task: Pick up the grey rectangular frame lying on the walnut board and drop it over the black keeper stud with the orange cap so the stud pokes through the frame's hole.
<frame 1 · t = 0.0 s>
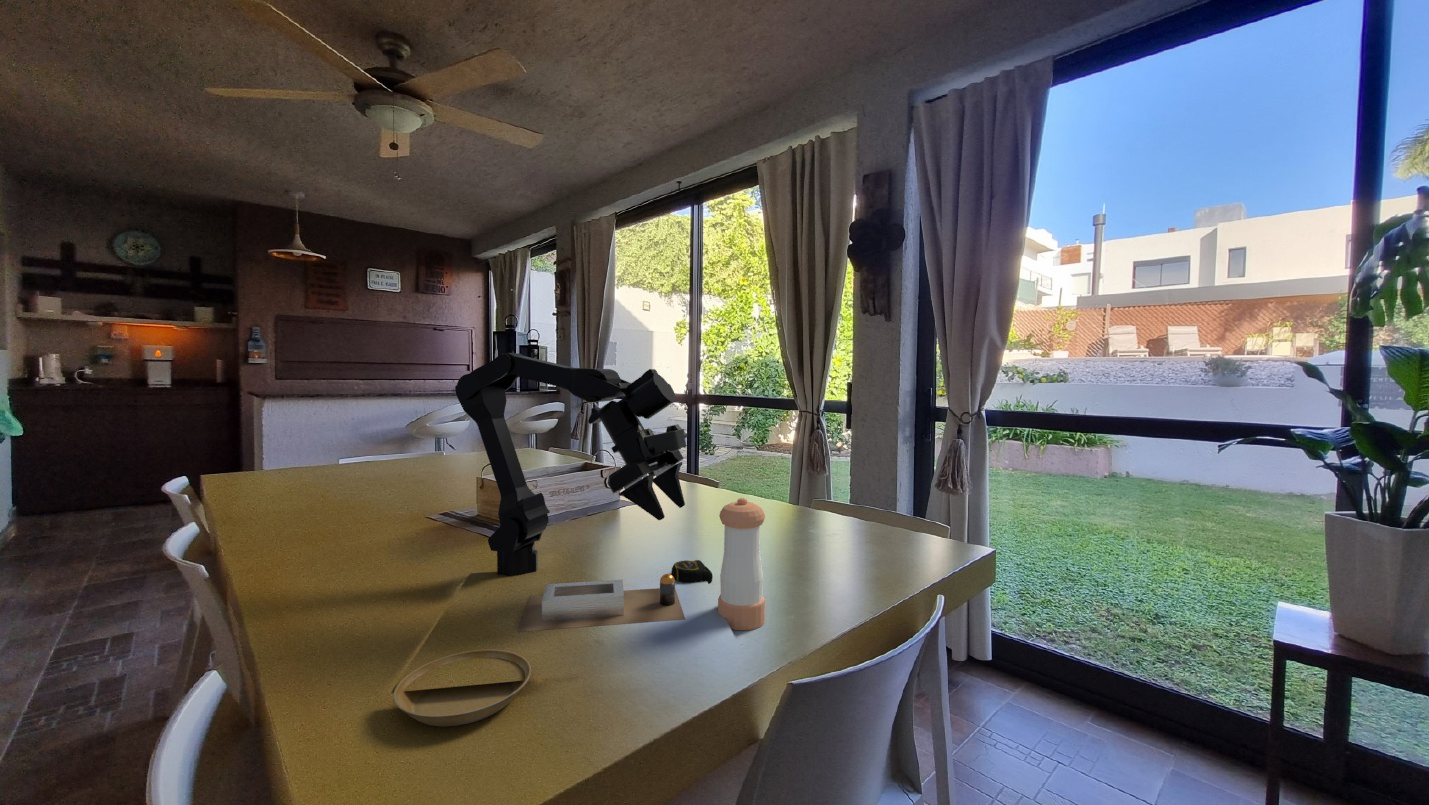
hand: (672, 512, 96), 15 cm above the table, fingers open, 9 cm apart
plant saucer: (465, 701, 67), on the table
tape measure: (693, 585, 105), on the table
keeper stud: (667, 602, 92), resting on keeper board
grey rectangular frame: (584, 608, 89), point 1 cm above the table, touching keeper board
pepper shaker: (741, 621, 89), on the table
keeper board: (603, 616, 90), on the table
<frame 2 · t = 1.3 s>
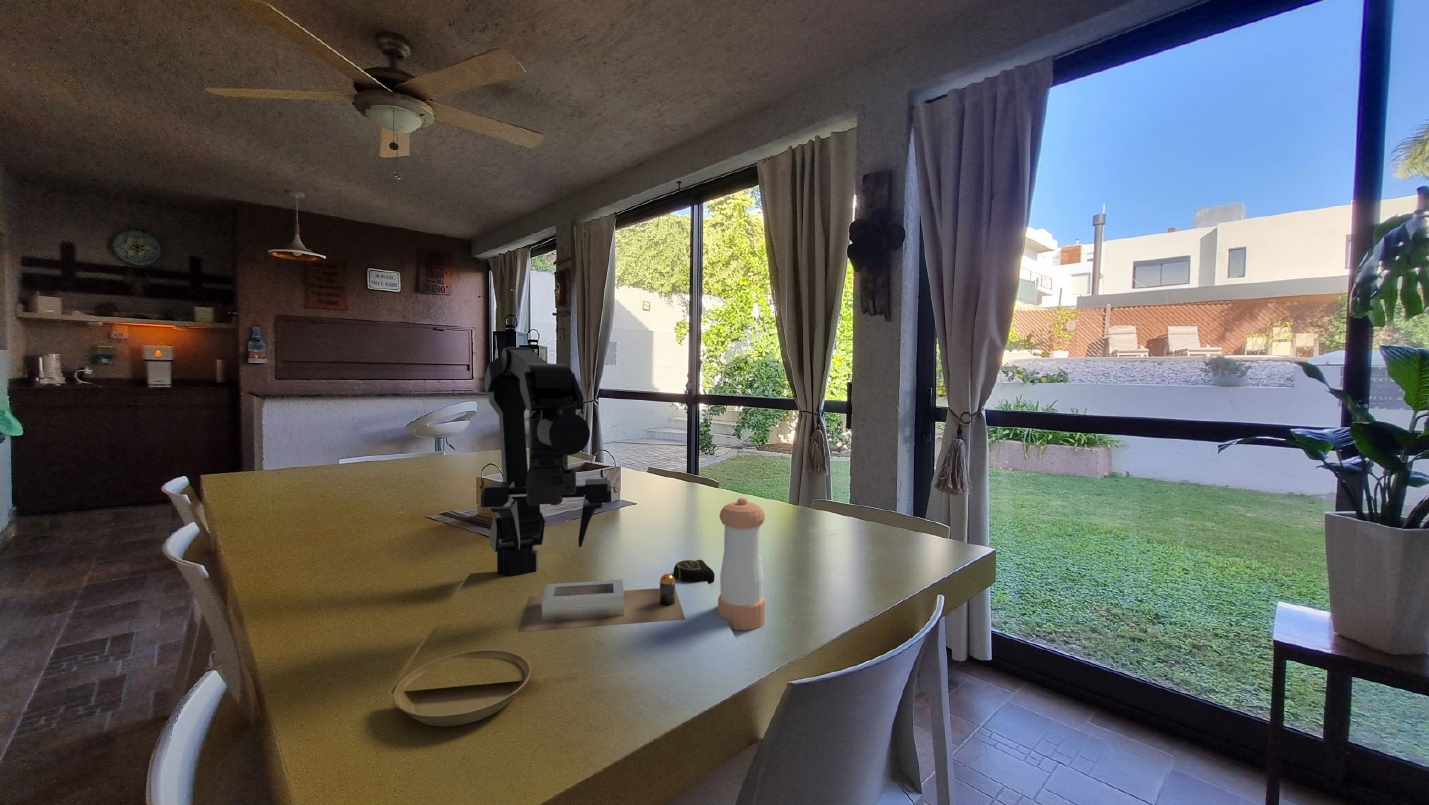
hand: (549, 547, 88), 11 cm above the table, fingers open, 9 cm apart
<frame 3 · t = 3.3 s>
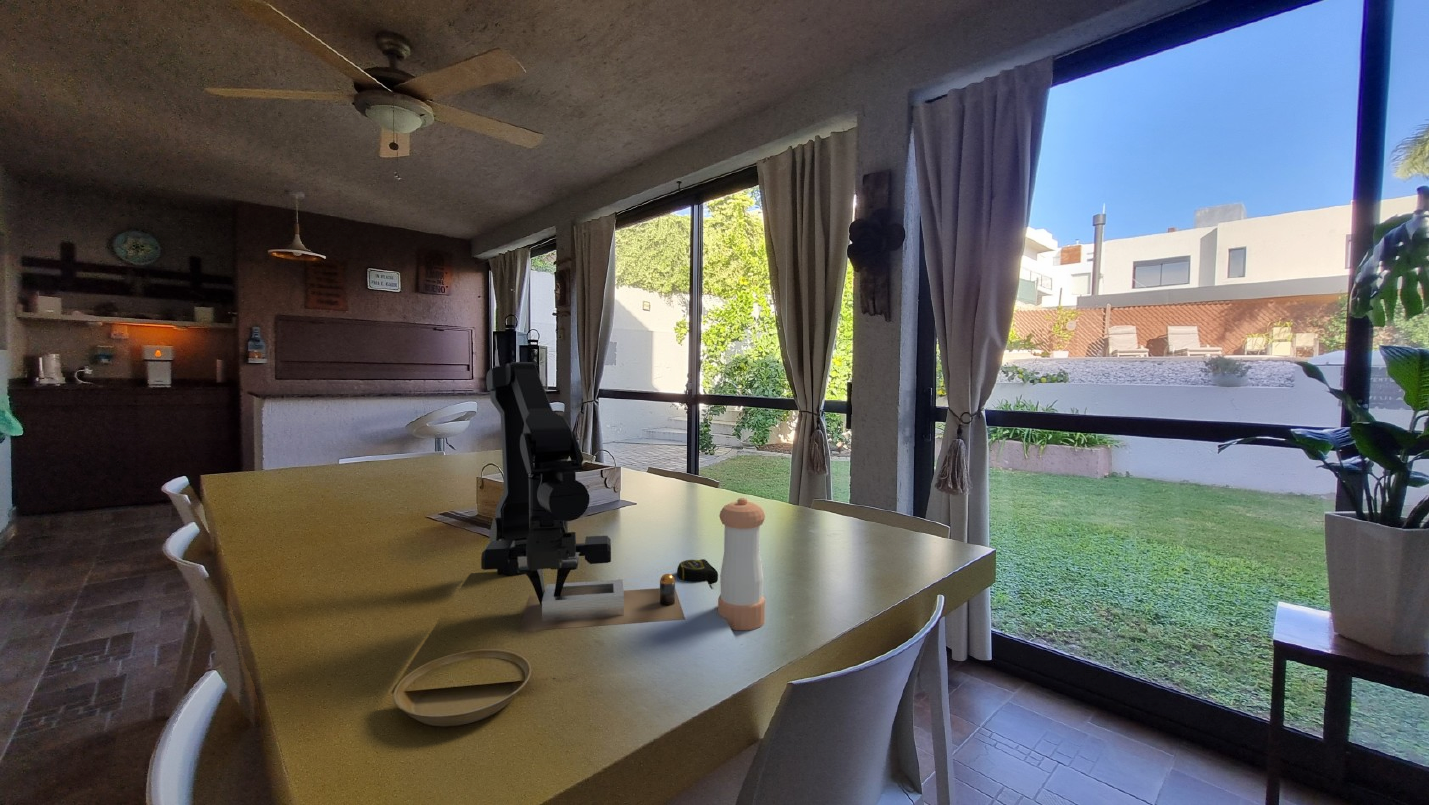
hand: (549, 606, 88), 2 cm above the table, fingers closed on grey rectangular frame
grey rectangular frame: (584, 608, 89), point 1 cm above the table, touching gripper, keeper board
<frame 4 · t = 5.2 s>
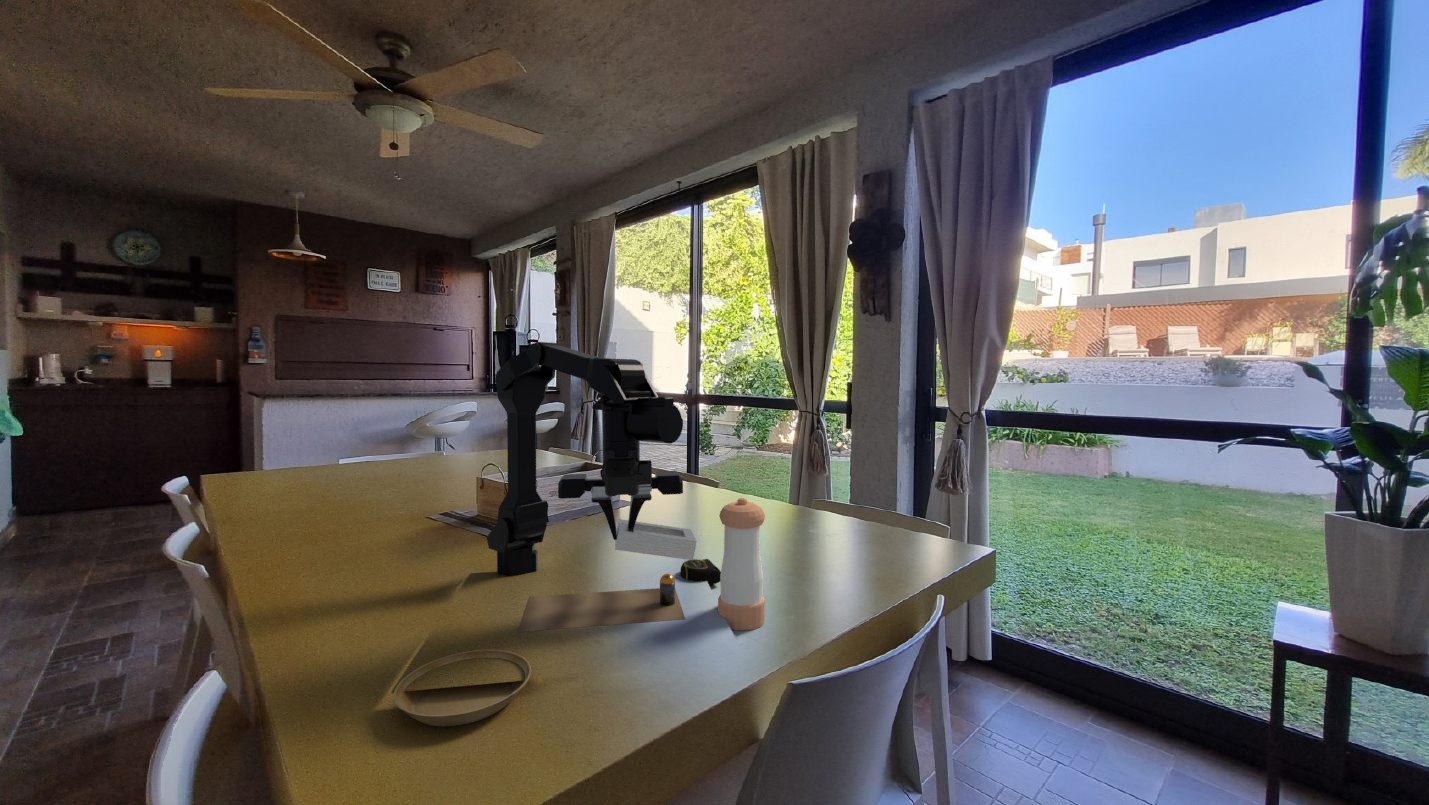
hand: (622, 538, 89), 12 cm above the table, fingers closed on grey rectangular frame
grey rectangular frame: (653, 548, 90), point 11 cm above the table, tilted 11°, touching gripper
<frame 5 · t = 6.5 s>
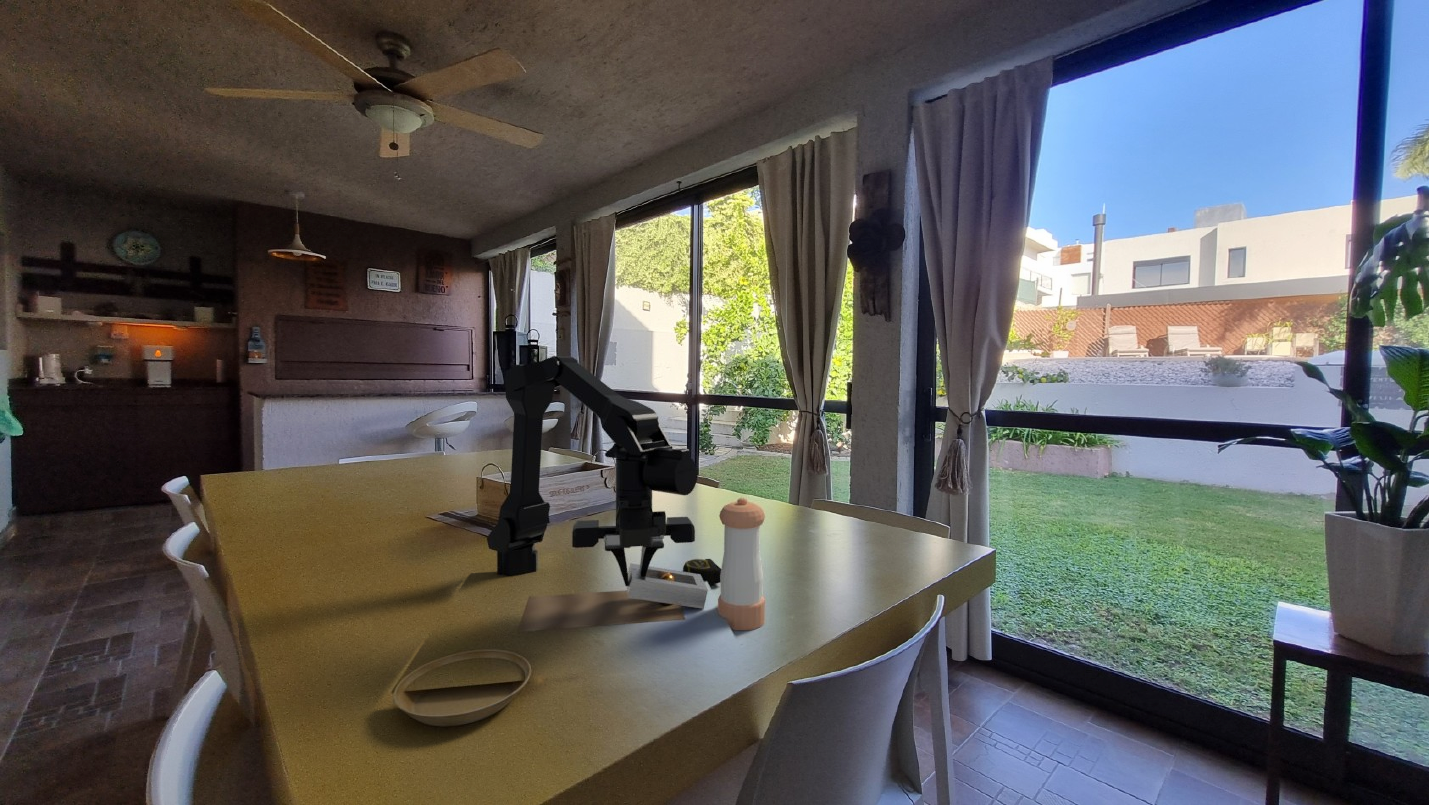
hand: (633, 585, 91), 5 cm above the table, fingers closed on grey rectangular frame
grey rectangular frame: (663, 594, 92), point 3 cm above the table, tilted 12°, touching gripper
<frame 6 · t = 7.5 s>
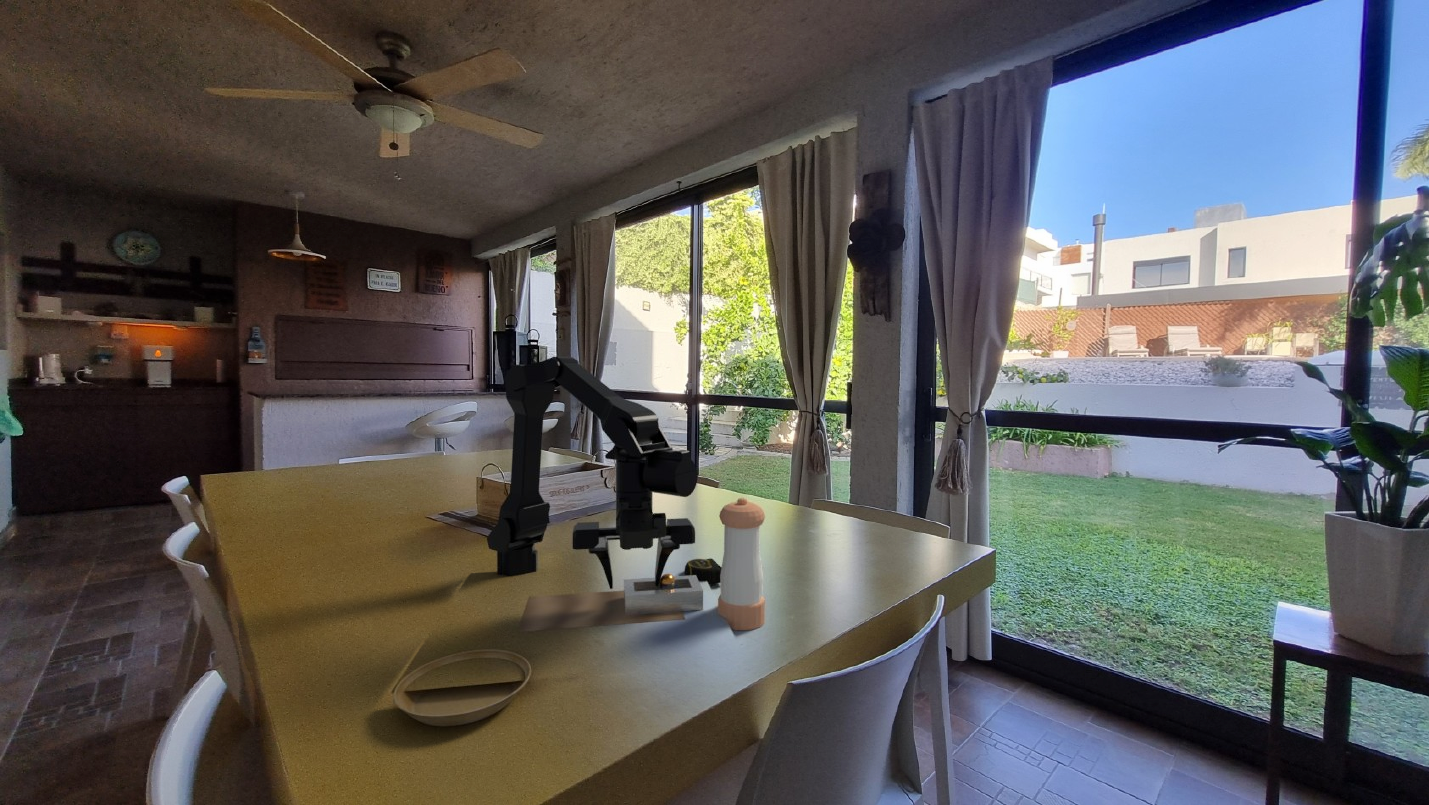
hand: (634, 586, 91), 4 cm above the table, fingers open, 7 cm apart
grey rectangular frame: (662, 603, 92), point 1 cm above the table, touching keeper board
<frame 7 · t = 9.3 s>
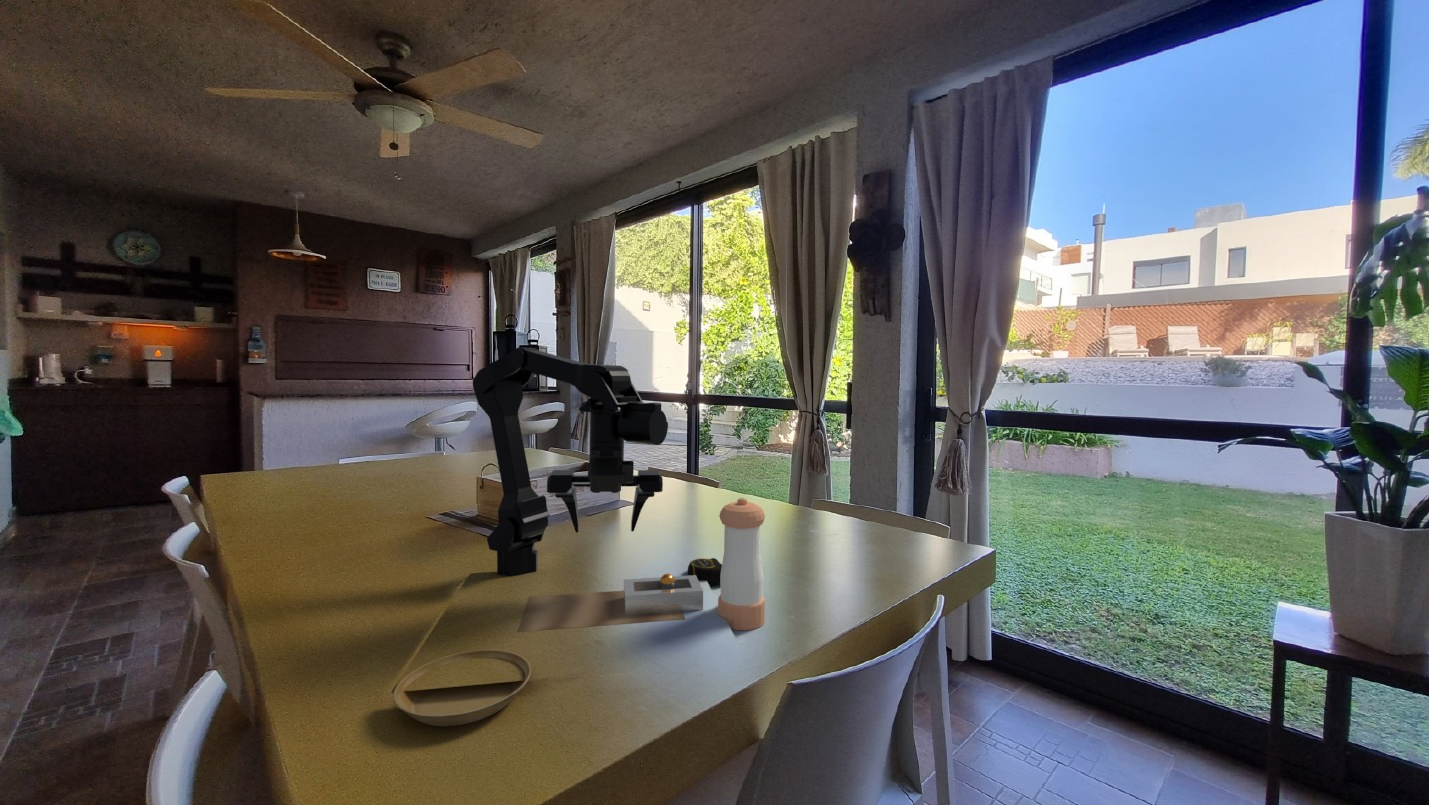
hand: (604, 531, 97), 11 cm above the table, fingers open, 9 cm apart
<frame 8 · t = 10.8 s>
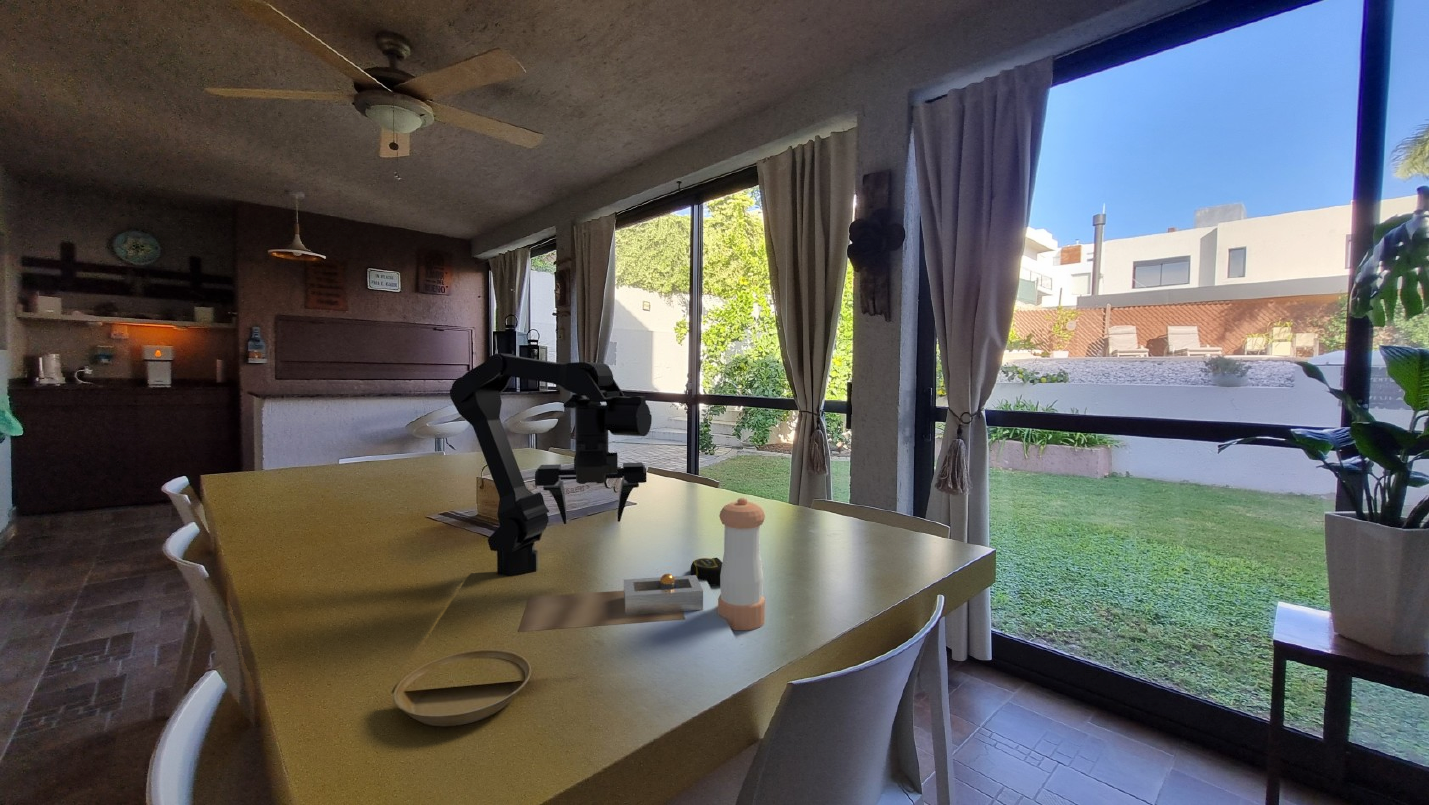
hand: (592, 522, 101), 12 cm above the table, fingers open, 9 cm apart
at the end: grey rectangular frame 0.8 cm from the keeper stud (horizontally); grey rectangular frame point 1.5 cm above the table; the gripper is holding nothing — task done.
